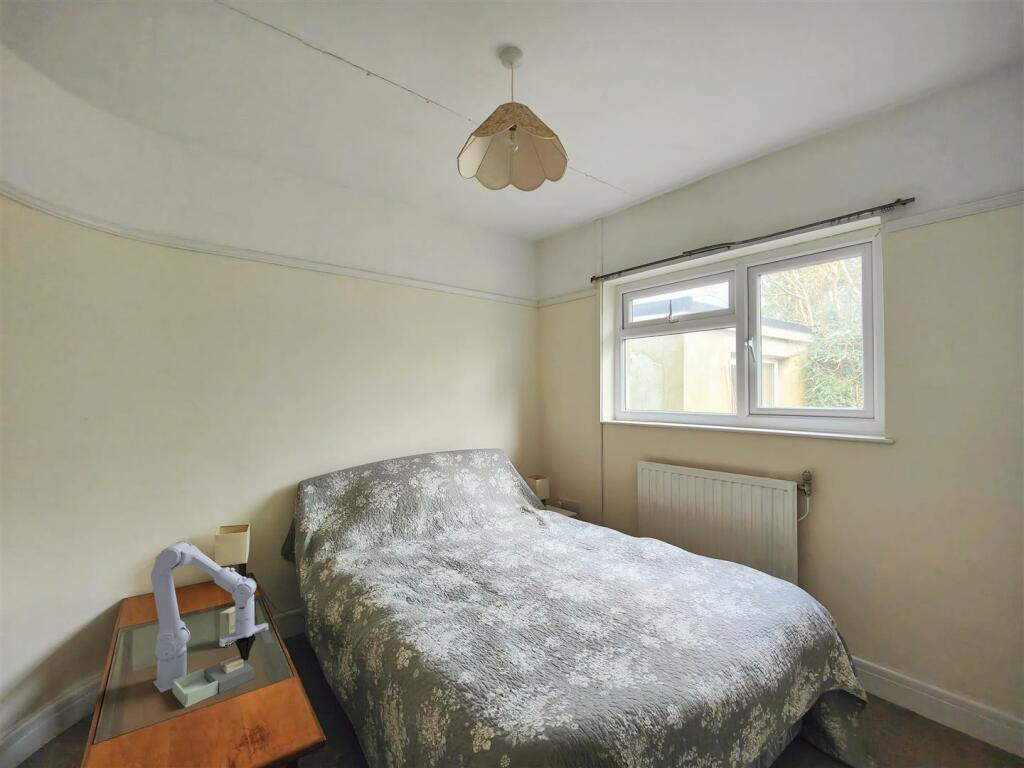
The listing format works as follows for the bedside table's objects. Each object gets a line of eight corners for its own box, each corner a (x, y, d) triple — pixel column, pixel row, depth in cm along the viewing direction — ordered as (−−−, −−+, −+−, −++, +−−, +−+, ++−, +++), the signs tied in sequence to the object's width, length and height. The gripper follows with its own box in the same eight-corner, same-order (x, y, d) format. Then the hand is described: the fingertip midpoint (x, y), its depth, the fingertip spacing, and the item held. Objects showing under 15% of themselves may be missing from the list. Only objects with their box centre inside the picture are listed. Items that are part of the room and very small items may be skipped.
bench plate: (204, 678, 148) (204, 669, 148) (237, 665, 156) (237, 656, 156) (219, 693, 139) (219, 683, 139) (254, 678, 147) (254, 668, 147)
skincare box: (228, 647, 169) (228, 613, 170) (219, 646, 170) (219, 613, 171) (242, 638, 175) (242, 606, 176) (232, 638, 176) (232, 606, 177)
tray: (172, 692, 141) (172, 680, 141) (203, 679, 147) (203, 668, 148) (185, 707, 133) (185, 694, 133) (217, 693, 139) (217, 681, 139)
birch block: (221, 668, 148) (221, 662, 148) (237, 661, 152) (237, 655, 152) (226, 673, 145) (226, 666, 145) (243, 666, 149) (243, 660, 149)
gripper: (225, 629, 144) (224, 673, 143) (272, 612, 156) (272, 653, 154) (217, 623, 149) (216, 666, 148) (263, 608, 160) (263, 648, 159)
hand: (244, 659), depth 151 cm, fingers closed
